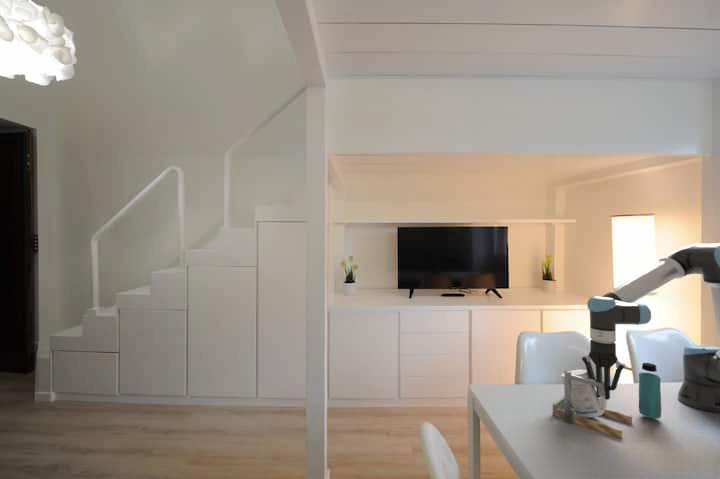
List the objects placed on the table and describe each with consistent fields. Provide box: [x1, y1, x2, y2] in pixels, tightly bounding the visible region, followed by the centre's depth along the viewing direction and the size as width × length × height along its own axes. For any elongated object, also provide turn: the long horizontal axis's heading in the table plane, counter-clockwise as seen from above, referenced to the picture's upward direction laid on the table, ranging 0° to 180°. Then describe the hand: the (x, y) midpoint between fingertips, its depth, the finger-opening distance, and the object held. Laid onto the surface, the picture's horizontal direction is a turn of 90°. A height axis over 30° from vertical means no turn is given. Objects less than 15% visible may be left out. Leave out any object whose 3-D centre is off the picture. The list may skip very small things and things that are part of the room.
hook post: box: [563, 370, 605, 424], centre depth 122 cm, size 12×2×18 cm, turn 42°
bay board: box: [552, 395, 633, 439], centre depth 128 cm, size 21×15×4 cm
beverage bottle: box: [637, 362, 663, 420], centre depth 129 cm, size 6×7×20 cm
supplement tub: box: [560, 369, 604, 419], centre depth 130 cm, size 10×10×15 cm
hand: (603, 407), depth 125 cm, fingers closed
